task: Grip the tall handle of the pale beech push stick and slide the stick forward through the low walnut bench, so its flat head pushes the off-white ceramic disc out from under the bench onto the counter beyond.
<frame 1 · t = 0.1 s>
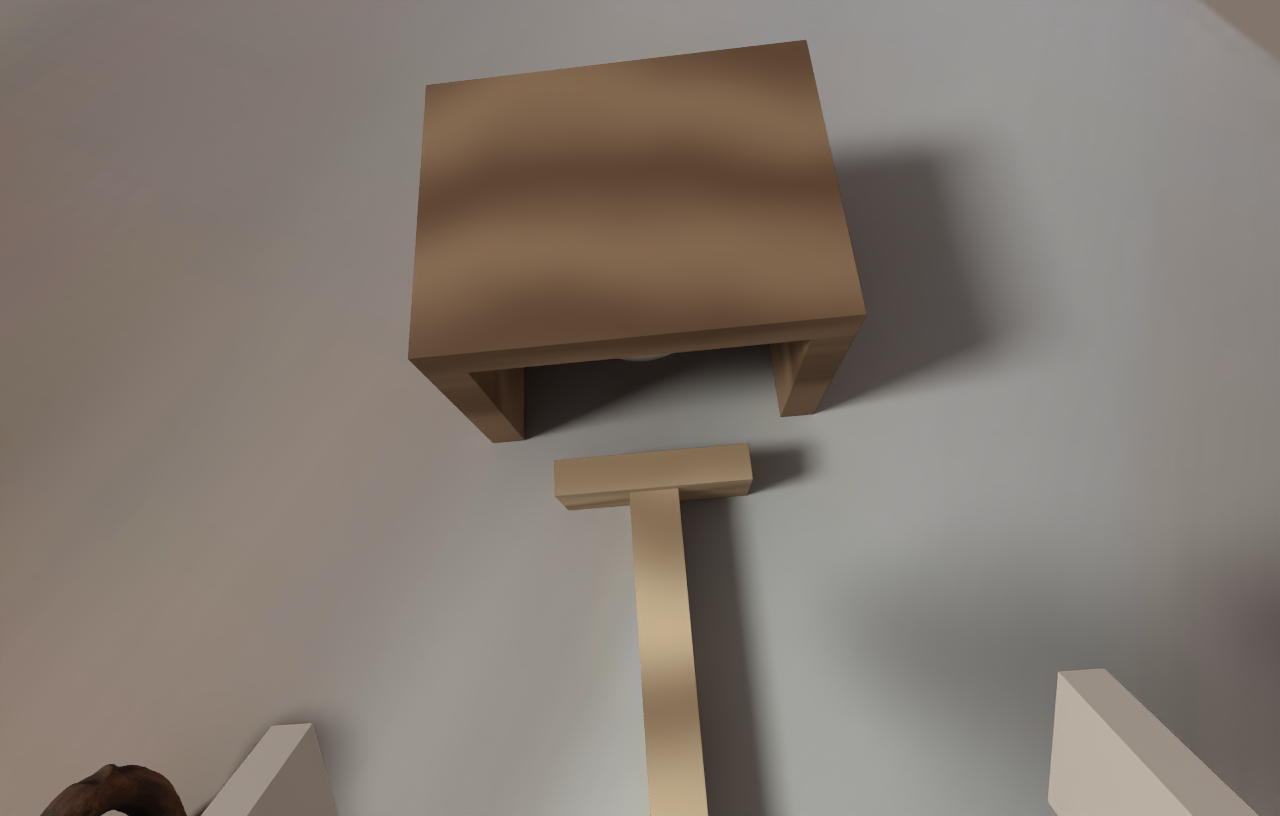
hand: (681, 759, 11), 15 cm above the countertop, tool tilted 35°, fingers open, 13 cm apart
walnut bench: (642, 315, 32), on the countertop
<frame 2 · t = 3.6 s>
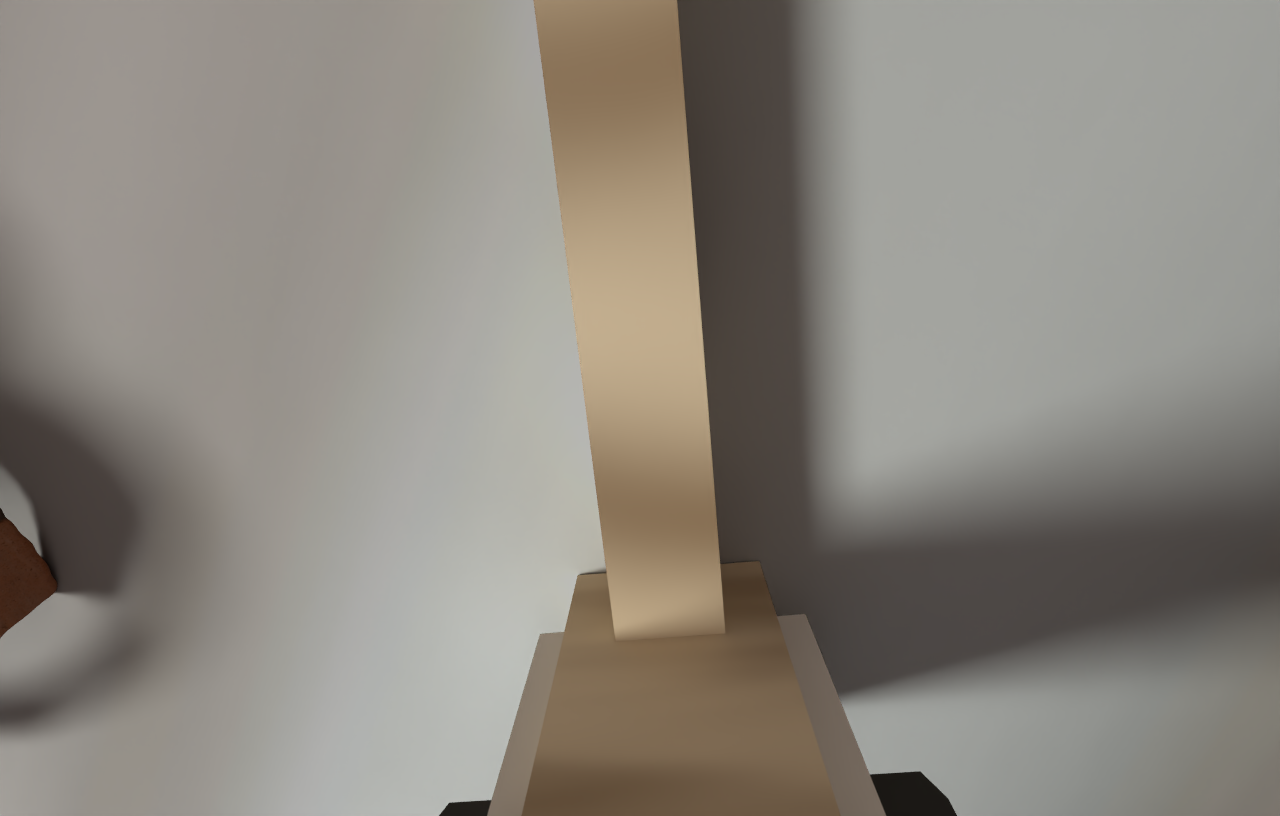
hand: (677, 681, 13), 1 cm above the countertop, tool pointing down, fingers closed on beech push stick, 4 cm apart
beech push stick: (675, 646, 14), on the countertop, touching gripper
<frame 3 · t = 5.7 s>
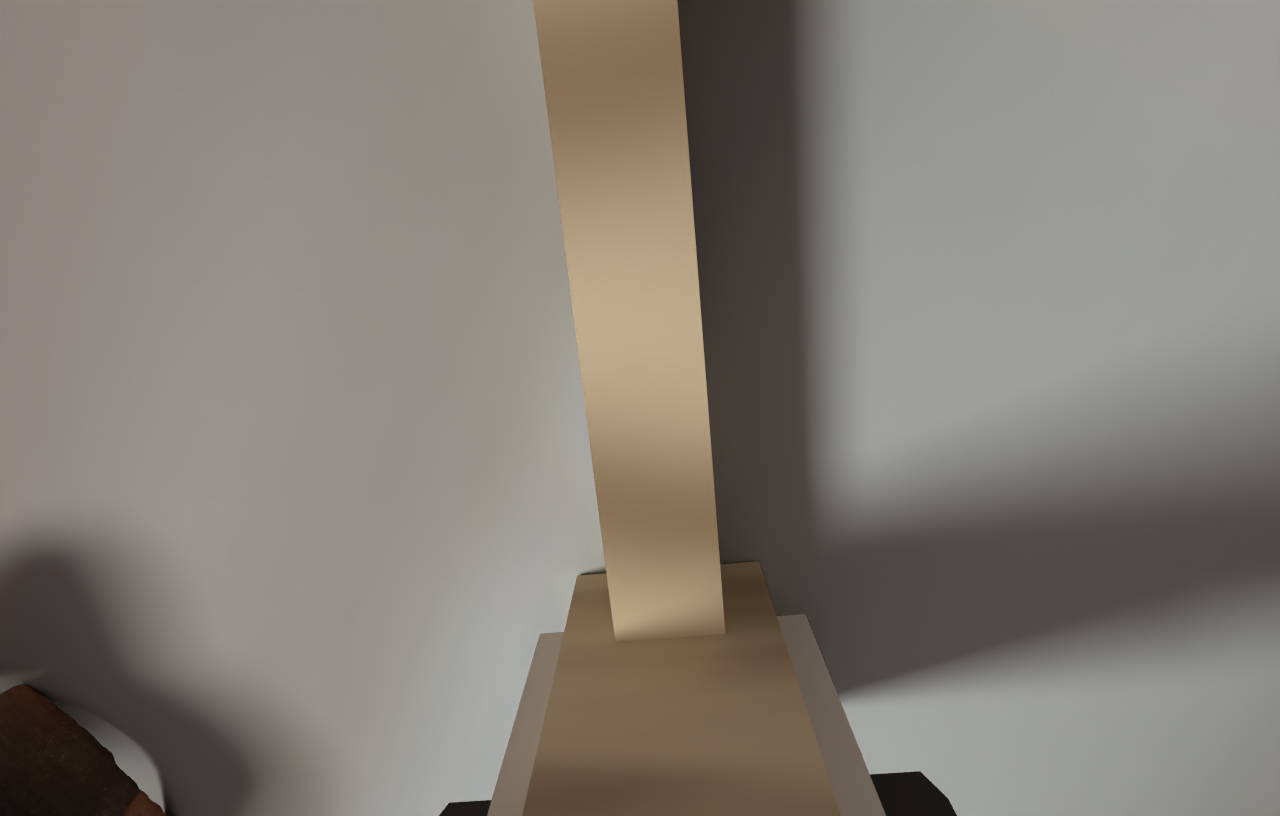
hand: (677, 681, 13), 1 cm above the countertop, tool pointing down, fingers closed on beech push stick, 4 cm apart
beech push stick: (675, 647, 14), on the countertop, touching gripper
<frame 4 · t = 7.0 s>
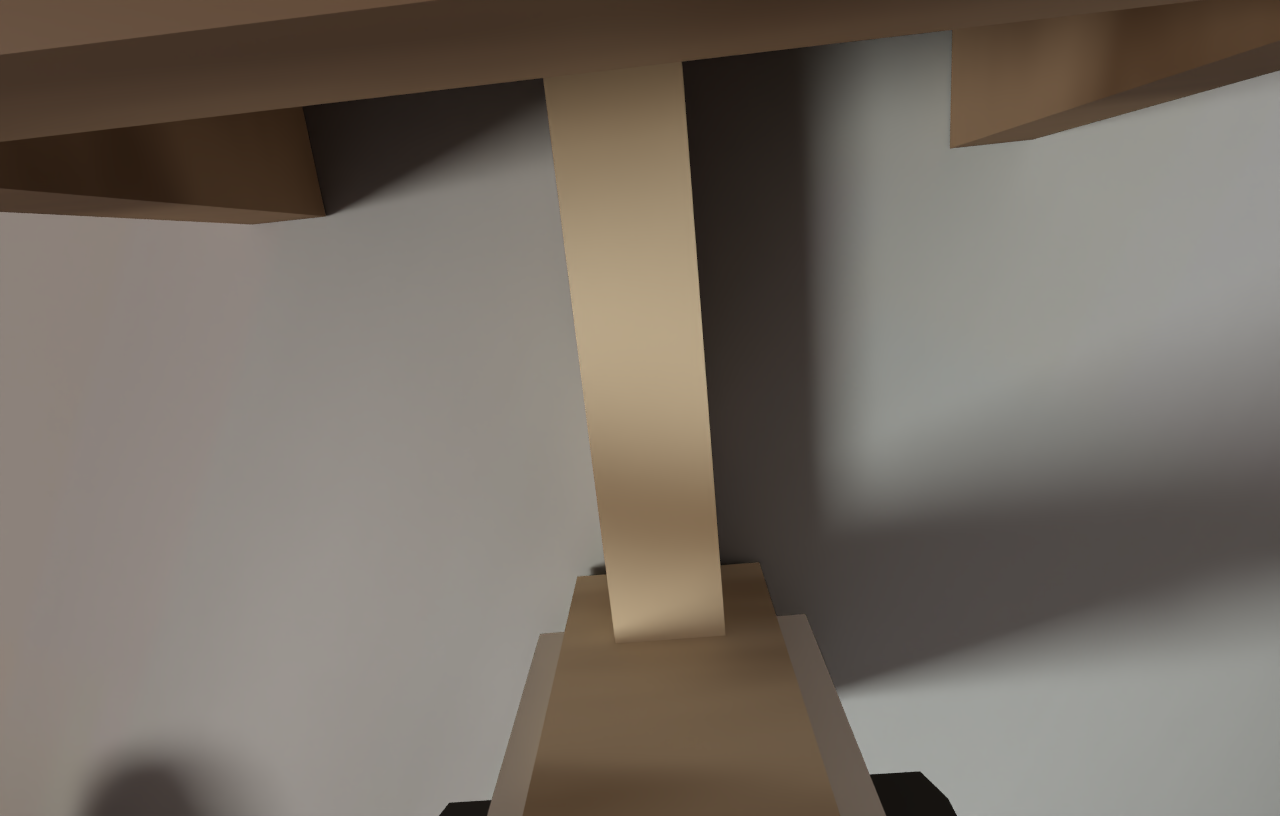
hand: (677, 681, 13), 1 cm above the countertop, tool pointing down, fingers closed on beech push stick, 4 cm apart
beech push stick: (675, 648, 14), on the countertop, touching gripper
when the fingers open (1 cm above the countertop, at t = 8.9 s): beech push stick stays where it is, on the countertop.
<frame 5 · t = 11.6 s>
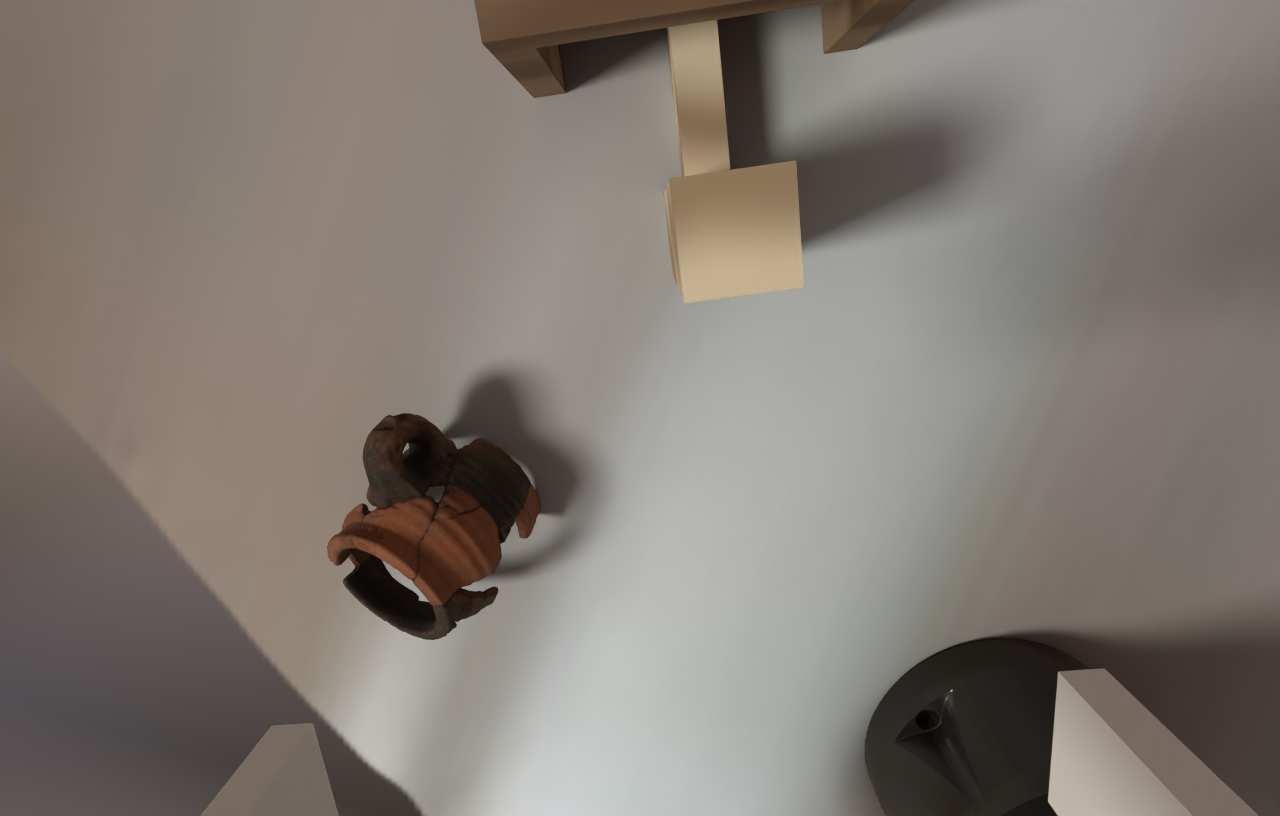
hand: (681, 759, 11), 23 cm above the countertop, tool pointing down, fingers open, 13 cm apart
pottery mug: (450, 492, 36), on the countertop
beech push stick: (708, 229, 31), on the countertop
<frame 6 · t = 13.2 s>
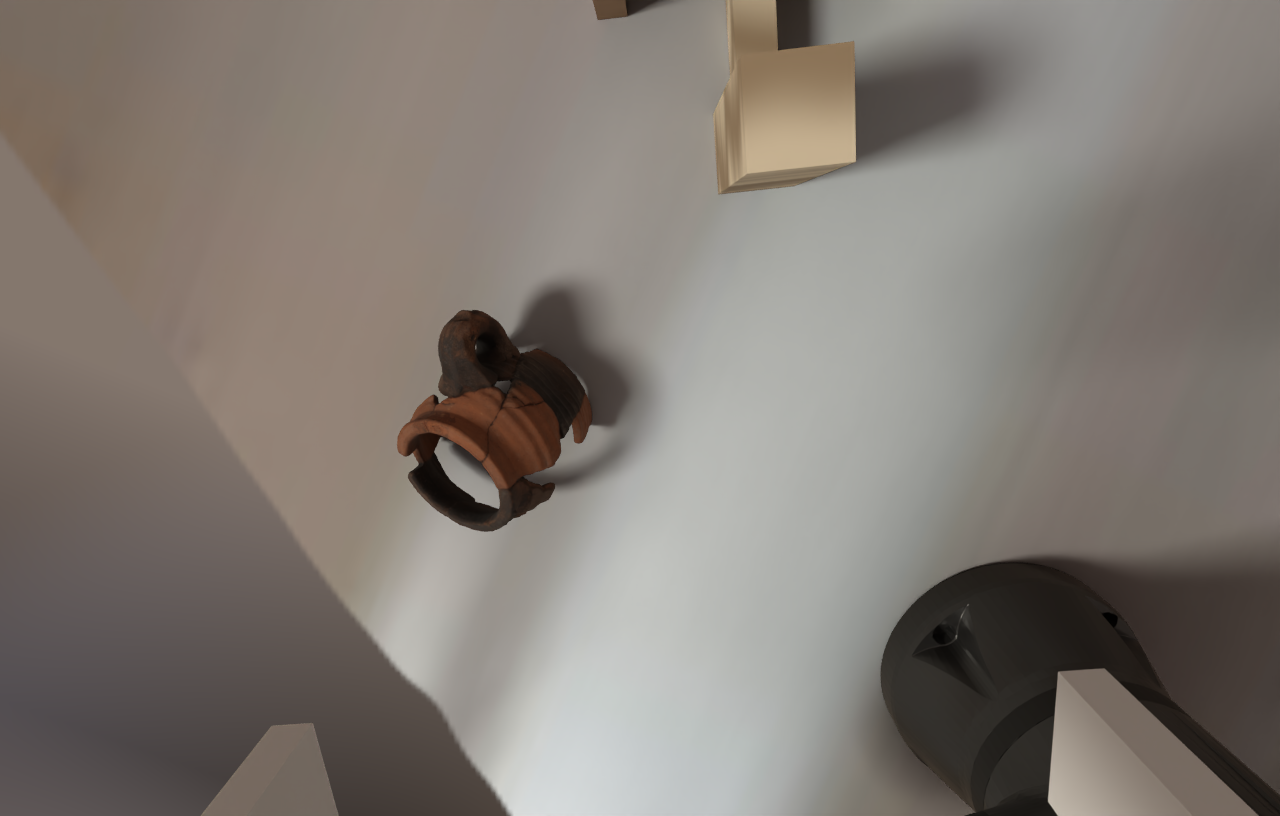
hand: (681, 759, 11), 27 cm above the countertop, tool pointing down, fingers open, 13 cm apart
pottery mug: (507, 402, 38), on the countertop
beech push stick: (753, 150, 33), on the countertop
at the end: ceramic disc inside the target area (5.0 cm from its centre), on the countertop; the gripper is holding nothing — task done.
